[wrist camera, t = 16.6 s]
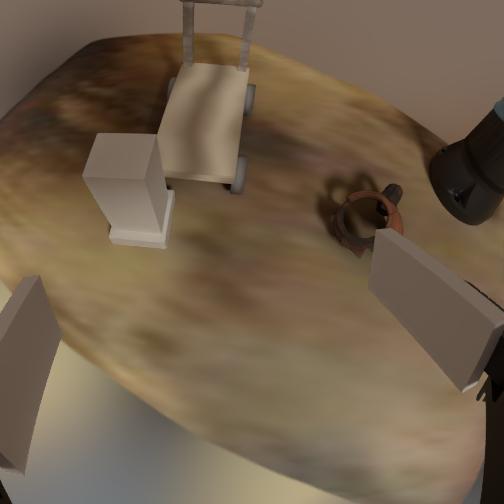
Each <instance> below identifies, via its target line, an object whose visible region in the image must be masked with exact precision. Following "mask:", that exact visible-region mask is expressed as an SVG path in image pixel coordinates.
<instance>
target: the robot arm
mask: <svg viewBox="0 0 504 504" xmlns="http://www.w3.org/2000/svg"><path fill="white" fill-rule="evenodd" d="M430 178H431V182H432V185H433V187H434V190H435V192H436V194H437V196H438V197H439V199H440V200H441V202H442V203H443V205H444V206H445V207H446V208H447V210H448V211H449V212H450V213H451V214H452V215H453V216H455V217H456V218H457V219H458V220H460V221H462V222H463V223H466V224H468V225H479V224H481V223H483V222H484V221H486V220H487V219H489V218H490V217H491V216H492V214H493V212H494V211H495V209H496V208H497V206H498V205H499V203H500V202H501V200H502V199H503V197H504V97H503V98H502V99H501V100H500V101H499V102H496V104H495V105H494V108H493V109H492V110H491V111H490V112H489V114H488V115H487V116H486V117H485V118H484V119H483V120H482V121H481V122H480V123H479V124H478V125H477V126H476V127H475V128H474V129H473V130H472V131H471V132H470V133H469V135H468V136H467V137H466V138H465V139H462V140H460V141H458V142H455V143H453V144H451V145H449V146H446V147H444V148H442V149H441V150H439V151H438V152H437V153H436V155H435V156H434V157H433V158H432V160H431V162H430ZM368 289H369V290H370V291H371V292H372V293H373V294H374V295H375V296H376V297H377V298H378V299H379V300H380V301H381V302H382V303H383V305H384V306H385V307H386V308H387V309H388V310H389V311H390V312H391V313H392V314H393V315H394V316H395V317H396V319H397V320H398V321H399V322H400V323H401V324H402V325H403V326H404V327H405V328H406V330H407V331H408V332H409V333H410V334H411V335H412V336H413V337H414V338H415V340H416V341H417V342H418V343H419V344H420V345H421V346H422V347H423V348H424V350H425V351H426V352H427V353H428V354H429V355H430V356H431V358H432V359H433V360H434V361H435V362H436V363H437V364H438V366H439V367H440V368H441V369H442V370H443V371H444V373H445V374H446V375H447V376H448V377H449V378H450V380H451V381H452V382H453V383H454V384H455V386H456V387H457V388H458V389H459V390H460V392H461V393H462V392H464V391H466V390H467V389H469V388H471V387H473V386H474V385H476V384H477V383H478V381H479V379H480V377H481V375H482V373H483V372H484V371H485V372H486V373H487V374H488V375H489V376H488V378H487V380H486V381H485V383H484V385H483V387H482V388H481V390H480V392H479V393H478V395H477V399H476V400H477V401H479V400H480V398H481V396H482V395H483V393H486V396H485V397H484V399H483V401H485V402H486V446H485V463H484V476H483V484H482V493H481V500H480V504H504V309H502V308H501V307H500V306H499V305H498V304H496V303H495V302H494V301H493V300H491V299H490V298H489V299H488V296H486V295H485V294H484V293H483V292H480V290H479V289H478V288H476V287H475V286H474V285H472V284H471V283H469V282H467V281H465V280H463V279H461V278H460V277H459V276H458V275H456V274H455V273H454V272H452V271H451V270H450V269H448V268H447V267H446V266H444V265H443V264H441V263H440V262H439V261H437V260H436V259H435V258H433V257H432V256H431V255H429V254H428V253H426V252H425V251H424V250H422V249H421V248H419V247H418V246H416V245H415V244H414V243H412V242H411V241H409V240H408V239H406V238H405V237H403V236H402V235H401V234H399V233H398V232H396V231H395V230H393V229H392V228H386V229H378V230H376V233H375V242H374V250H373V257H372V264H371V271H370V278H369V285H368ZM62 334H63V333H62V331H61V329H60V326H59V324H58V322H57V319H56V317H55V315H54V312H53V310H52V307H51V305H50V302H49V300H48V297H47V294H46V292H45V289H44V286H43V283H42V281H41V278H40V275H39V276H32V277H25V278H23V280H22V281H21V283H20V284H19V285H18V287H17V288H16V290H15V291H14V293H13V294H12V296H11V297H10V299H9V301H8V302H7V303H6V305H5V307H4V308H3V310H2V311H1V313H0V467H1V468H2V469H3V470H4V471H5V472H10V473H16V474H23V475H24V474H25V469H26V463H27V458H28V453H29V448H30V444H31V439H32V435H33V431H34V426H35V422H36V418H37V414H38V411H39V406H40V403H41V400H42V396H43V392H44V389H45V386H46V382H47V379H48V376H49V373H50V369H51V366H52V363H53V360H54V357H55V354H56V351H57V348H58V346H59V343H60V340H61V337H62ZM0 504H12V503H11V500H10V498H9V496H8V495H7V493H6V491H5V489H4V487H3V485H2V483H1V480H0Z"/></svg>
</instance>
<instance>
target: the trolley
mask: <svg viewBox="0 0 504 504" xmlns="http://www.w3.org/2000/svg"><path fill="white" fill-rule="evenodd" d="M180 1H181V2H183V59H184V62H183V63H182V65H181V68H180V70H179V73H178V76H177V77H172V78H171V80H170V82H169V86H168V92H167V106H166V109H165V112H164V115H163V118H162V121H161V124H160V127H159V131H158V134H157V140H158V145H159V151H160V156H161V162H162V167H163V172H164V177H169V178H180V179H190V180H200V181H209V182H219V183H227V184H231V189H230V194H239V195H243V192H244V186H245V180H246V172H247V164H248V156H244V155H238V149H239V141H240V134H241V126H242V118H243V115H246V116H251V114H252V109H253V103H254V96H255V88H256V85H253V84H247V82H248V75H249V68H247V63H248V57H249V51H250V44H251V38H252V32H253V26H254V20H255V14H256V8H259V7H261V6H262V5H263V0H180ZM194 3H211V4H225V5H236V6H245V7H247V10H246V16H245V23H244V30H243V37H242V44H241V51H240V59H239V66H238V67H236V66H226V65H216V64H204V63H193V35H194Z"/></svg>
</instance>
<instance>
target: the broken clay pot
mask: <svg viewBox="0 0 504 504" xmlns="http://www.w3.org/2000/svg"><path fill="white" fill-rule="evenodd" d="M402 194H403V191H402V188H401V187H400V186H399V185H397V184H389V185H388V186H387V187H386V188H385V190H384V191H383V192H381V193H378V192H375V191H370V190H361V191H357V192H354V193H352V194H350V195H349V196H348V197H347V201H346V202H345V203H343V204H342V205H341V206H340V207H339V208H338V210H337V212H336V215H335V217H334V230H335V234H336V236H337V238H338V240H339V241H341V242H342V245H343V246H345V247H346V248H348V249H350V250H351V251H352V252H353V253H355V255H356V256H357V257H358V258H361V256H362V254H363V253H364V251H365V250H366V249H367V248H369V249H370V251H371V252H373V250H374V242H375V236H374V237H370V238H359V237H356V236H354V235H352V234H351V233H350V232H349V231H348V230H347V229H346V227H345V225H344V221H343V218H344V212H345V209H346V208H347V206H348V205H349V204H351V203H352V202H354V201H356V200H358V199H361V198H372V199H376V200H377V205H376V211H377V212H379V213H380V214H381V215H382V216H388V219H387V223H386V226H385V228H384V229H386V228H392V229H393V230H395V231H396V232H398V233H399V234H401V235H402V236H403V223H402V218H401V215H400V213H398V209H397V204H398V202H399V201H400V199H401V197H402Z"/></svg>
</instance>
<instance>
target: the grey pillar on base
mask: <svg viewBox="0 0 504 504" xmlns="http://www.w3.org/2000/svg"><path fill="white" fill-rule="evenodd" d="M82 178H83V180H84V181H85V183H86V185H87V187H88V188H89V190H90V192H91V193H92V195H93V197H94V198H95V200H96V202H97V203H98V205H99V207H100V208H101V210H102V211H103V213H104V215H105V216H106V218H107V220H108V221H109V223H110V224H111V230H110V235H109V239H110V240H111V241H112V243H113V244H121V245H132V246H142V247H153V248H163V249H167V244H168V238H169V232H170V225H171V219H172V213H173V208H174V202H175V194H174V190H167V187H166V182H165V177H164V172H163V167H162V162H161V156H160V151H159V145H158V140H157V134H130V133H98V134H97V136H96V139H95V142H94V144H93V147H92V149H91V152H90V155H89V158H88V160H87V163H86V166H85V169H84V172H83V175H82Z"/></svg>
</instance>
